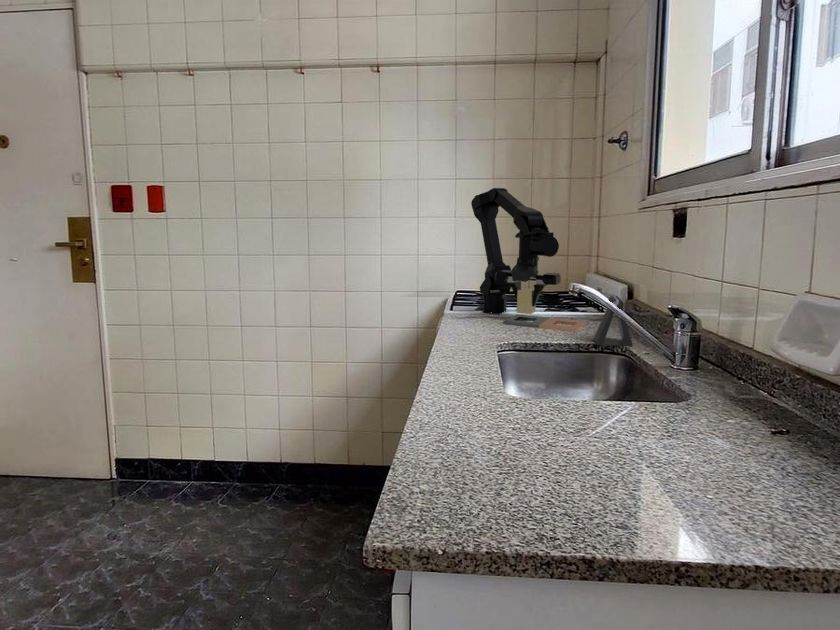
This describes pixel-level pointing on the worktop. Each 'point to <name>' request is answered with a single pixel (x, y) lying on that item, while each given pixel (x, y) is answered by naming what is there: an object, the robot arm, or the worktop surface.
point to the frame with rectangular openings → (545, 323)
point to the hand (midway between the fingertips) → (526, 305)
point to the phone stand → (605, 326)
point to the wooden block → (525, 301)
